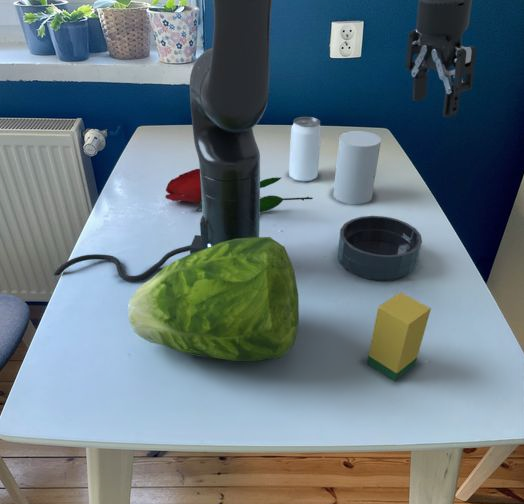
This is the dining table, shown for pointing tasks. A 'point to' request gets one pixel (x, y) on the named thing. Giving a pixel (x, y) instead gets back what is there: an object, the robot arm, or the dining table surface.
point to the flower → (191, 192)
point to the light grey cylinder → (356, 167)
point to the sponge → (397, 335)
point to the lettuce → (222, 302)
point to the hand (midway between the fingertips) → (433, 107)
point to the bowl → (379, 247)
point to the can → (305, 149)
